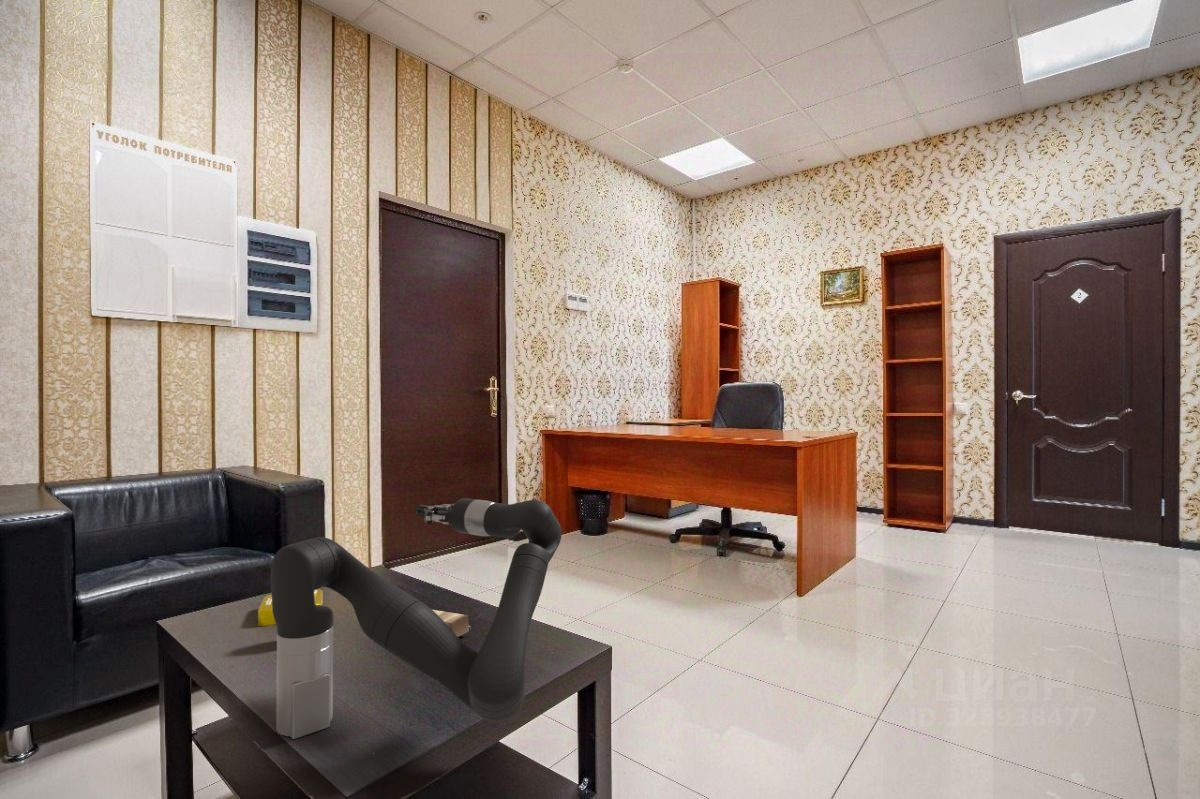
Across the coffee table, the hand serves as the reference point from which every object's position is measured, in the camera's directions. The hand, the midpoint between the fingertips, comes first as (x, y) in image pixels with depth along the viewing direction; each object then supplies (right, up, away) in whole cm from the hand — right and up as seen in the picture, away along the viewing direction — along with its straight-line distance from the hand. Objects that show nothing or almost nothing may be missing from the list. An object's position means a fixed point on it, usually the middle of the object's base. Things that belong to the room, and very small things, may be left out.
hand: (419, 509), depth 132 cm
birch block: (+7, -31, +9) cm, 33 cm away
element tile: (-44, -35, +27) cm, 62 cm away
